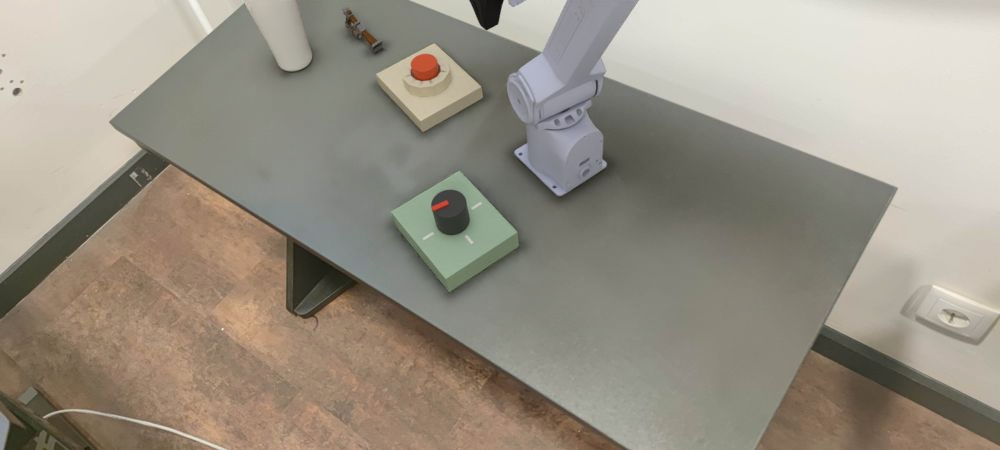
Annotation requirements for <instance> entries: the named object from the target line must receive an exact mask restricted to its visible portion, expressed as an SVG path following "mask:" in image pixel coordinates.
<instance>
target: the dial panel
mask: <svg viewBox="0 0 1000 450" xmlns="http://www.w3.org/2000/svg"><path fill="white" fill-rule="evenodd" d="M444 190H457V191H459V192H461V193H462V194H463V195H464V196H465V198H466V202H467V207H468V212H469V217H470V222H469V225H468V227H467V228H466V229H465V230H464V231H463V232H461V233H459V234H456V235H446V234H444V233H442V232H440V231H439V230H438V228H437V226H436V223H435V219H434V216H433V212H432V208H431V203H432V200H433V198H434V197H435V196H436V195H437V194H438V193H439V192H441V191H444ZM390 214H391V216H392V219H393V222H394V225H395V227H396V228H397V230H398V231H399V233H401V234H402V236H403V237H404V238H405V240H406V241H407V242H408V243H409V245H410V246H411V247H412V249H414V251H415V252H416V253H417V254H418V256H419V257H420V258H421V259H422V260H423V262H424V263H425V264H426V266H427V267H428V268H429V269H430V270H431V272H432V273H433V275H435V277H436V278H437V279H438V280H439V282H440V283H441V284H442V286H444V288H445V289H446V290H447V292H448V293H450V292H452V291H454V290H455V289H456V288H457V289H458V287H460V286H461V285H463V284H464V283H465V282H467V281H469V280H470V279H471V278H473V277H475V276H477V275H478V274H479V273H481V272H482V271H483V270H486V269H487V268H489V267H490V266H492V265H493V264H494V263H496V262H498V261H499V260H501V259H502V258H504V257H505V256H507V255H508V254H510V253H511V252H513V251H514V250H516V249H517V248H519V247H520V244H519V243H520V242H519V234H518V233H519V232H518V231H517V230H516V229H515V228H514V226H513V225H512V224H511V223H510V222H509V221H508V220H507V219H506V218H505V217H504V216H503V215H502V214H501V213H500V211H498V209H497V208H495V207H494V205H493V204H492V203H491V202H490V201H489V200H488V199H487V198H486V196H484V194H482V192H480V191H479V189H478V188H477V187H476V186H475V185H474V184H473V183H472V182H471V181H470V180H469V179H468V177H467V176H465V175H464V173H463V172H462V171H461V170H458V171H456V172H455V173H453V174H451V175H449V176H448V177H446V178H445V179H443V180H441V181H439V182H437V183H436V184H435V185H432V186H431V187H429V188H428V189H426V190H425V191H423V192H420V193H419V194H417V195H416V196H414V197H413V198H411V199H409V200H408V201H406V202H404V203H403V204H401V205H399V206H398V207H395V209H393V210H391V211H390Z"/></svg>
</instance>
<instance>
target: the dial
mask: <svg viewBox="0 0 1000 450" xmlns="http://www.w3.org/2000/svg"><path fill="white" fill-rule="evenodd" d="M431 208H432V212H433V216H434V219H435V223H436V226H437V228H438V230H439V231H440V232H442V233H444V234H446V235H456V234H459V233H461V232H463V231H464V230H465V229H466V228H467V227H468V225H469V222H470V217H469V212H468V207H467V202H466V198H465V196H464V195H463V194H462V193H461V192H459V191H457V190H444V191H441V192H439V193H438V194H437V195H436V196H435V197H434V198H433V200H432V203H431Z"/></svg>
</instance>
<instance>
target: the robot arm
mask: <svg viewBox="0 0 1000 450" xmlns="http://www.w3.org/2000/svg"><path fill="white" fill-rule="evenodd" d="M468 1H469V4H470V5H471V8H472V10H473V12H474V14H475V17H476V20H477V22H478V24H479V26H480V27H481V28H482V29H484V31H489V30H490V29H491V30H492V28H494V27H496V26H498V25H499V24H500V19H501V14H502V8H503V4H504V2H505V0H468ZM526 1H527V0H507V3H508V5H509V6H511V7H512V8H515V7H516V6H519V5H520V4H523V3H524V2H526ZM639 1H640V0H566V2H565V4H564V6H563V8H562V10H561V12H560V13H559V17H558V18H557V20H556V22H555V25H554V27H553V29H552V31H551V33H550V35H549V37H548V39H547V41H546V43H545V45H544V48H543V50H542V52H540V53H539V54H538V55H536V56H535V57H534V58H532V59H531V60H529V61H528V62H527V63H525V64H524V65H523V66H521V67H520V68H519V69H518V70H517V72H516V71H515V72H512V73H510V74H509V76H508V77H507V82H506V92H507V95H508V100H509V102H510V105H511V107H512V109H513V111H514V113H515V114H516V116H517V117H518V118H519V120H520V121H522V122H523V123H524V124H525V130H526V143H525V144H522V145H521V146H520V147H518V148H517V149H515V150H514V156H515V157H516V158H517V159H518V160H519V161H520V162H521V163H523V165H524V166H525V167H526V168H527V169H529V170H530V172H532V173H533V175H535V176H536V177H537V178H538V179H539V180H540V181H541V182H542V184H544V185H545V186H546V187H547V188H548V189H549V190H550V191H551V192H552V193H553V194H554V195H555V196H557V197H563V196H565V195H566V194H568V193H569V192H571V191H572V190H574V189H575V188H576V187H578V186H579V185H582V184H583V183H584V182H586V181H587V180H589V179H590V178H593V177H594V176H595V175H597V174H598V173H600V172H601V171H603V170H605V169H606V168H607V167H608V162H607V161H606V160H605V159H603V158H604V157H603V155H604V134H603V133H602V132H601V130H599V128H598V127H596V125H595V123H593V121H592V120H591V118H590V116H589V113H588V109H589V108H592V99H593V98H595V97H598V96H600V94H601V92H602V89H603V85H604V84H603V83H604V79H603V78H604V76H605V74H606V73H607V69H606V66H605V63H604V60H603V58H602V56H603V55H604V53H605V52H606V51H607V49H608V47H609V46H610V44H611V43H612V41H613V40H614V39H615V37H616V35H617V34H618V32H619V31H620V30H621V28H622V26H623V25H624V23H625V22H626V21H627V19H628V17H629V16H630V14H631V13H632V12H633V10H634V9H635V7H636V6H637V4H638V2H639Z"/></svg>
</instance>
